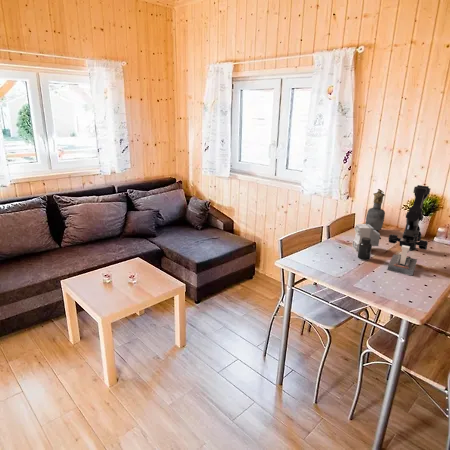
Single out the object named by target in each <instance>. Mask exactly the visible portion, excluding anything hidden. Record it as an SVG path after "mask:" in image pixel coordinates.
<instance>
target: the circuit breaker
mask: <svg viewBox="0 0 450 450" xmlns="http://www.w3.org/2000/svg"><path fill="white" fill-rule="evenodd" d="M354 232H355V236H354V239H353V240H352V246H351V247H352V248H353V250H354V251H355V252H358V249H359V243H360V242H362V241H361V240H362V238H363V237H367V238H370V239H371V244H372V247H379V244H380V240H381V239H382V238H381V234H380V232H377V231H376V230H374V228H373V227H372V226H370V225H369V224H365V223H356V224H355V226H354Z"/></svg>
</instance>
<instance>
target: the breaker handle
mask: <svg viewBox="0 0 450 450" xmlns="http://www.w3.org/2000/svg"><path fill="white" fill-rule="evenodd" d="M400 247H401V246H400ZM409 249H410V246H405V245H402V247H401V248H400V250H402V251H401V254H400V255H401V259H400V264H404V265H405V262H406V257H408V253H409V252H410V251H409ZM408 251H409V252H408ZM407 252H408V253H407Z"/></svg>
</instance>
